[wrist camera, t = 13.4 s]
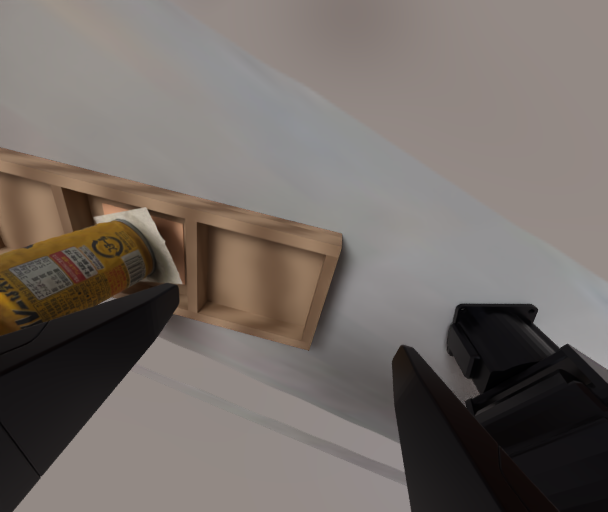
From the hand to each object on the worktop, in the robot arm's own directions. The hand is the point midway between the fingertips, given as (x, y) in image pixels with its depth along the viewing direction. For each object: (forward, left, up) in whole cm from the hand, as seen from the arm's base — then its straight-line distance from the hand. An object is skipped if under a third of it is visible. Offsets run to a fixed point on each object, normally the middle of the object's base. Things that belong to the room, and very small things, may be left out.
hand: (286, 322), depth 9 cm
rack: (+17, +1, -13) cm, 22 cm away
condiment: (+17, +1, -11) cm, 20 cm away
